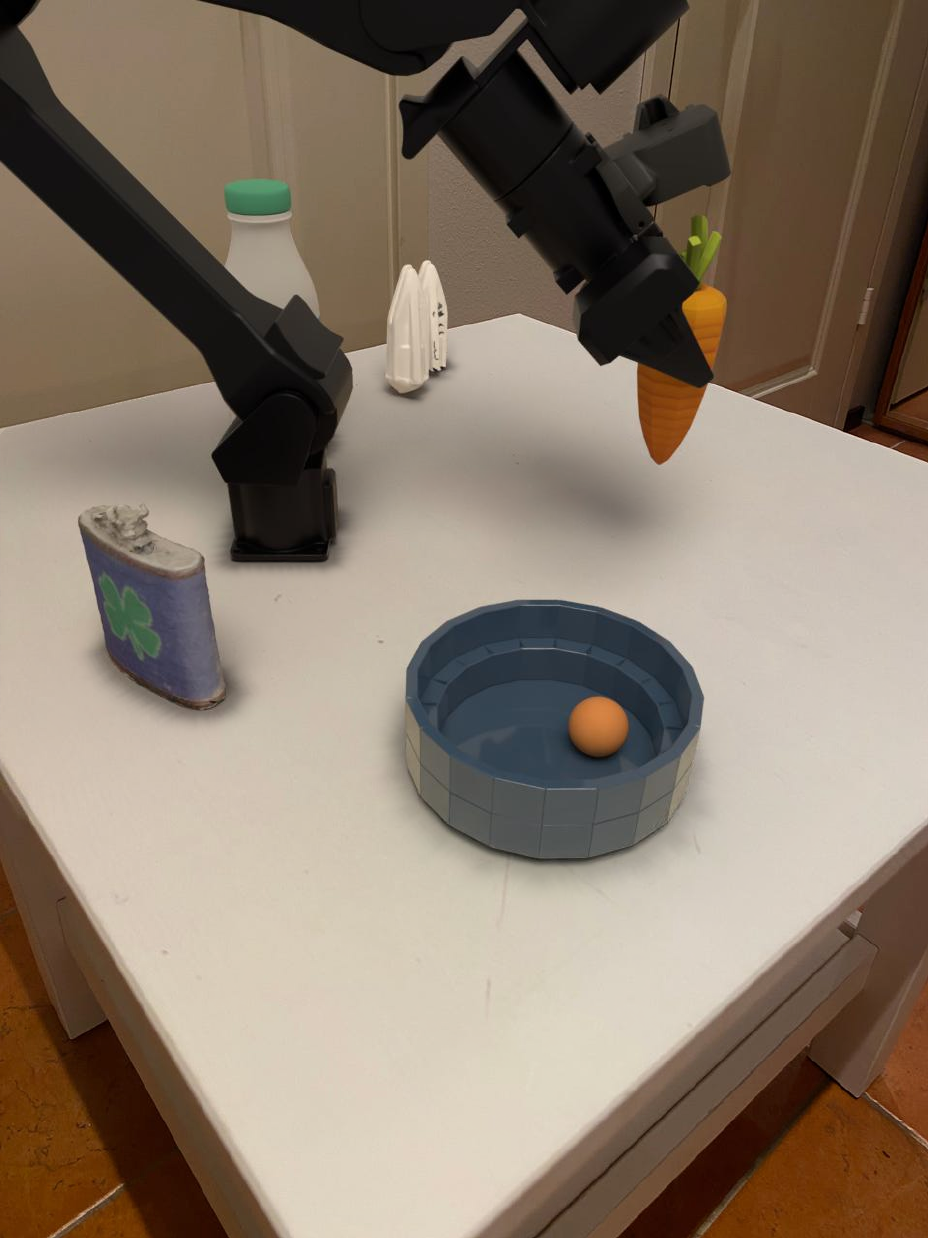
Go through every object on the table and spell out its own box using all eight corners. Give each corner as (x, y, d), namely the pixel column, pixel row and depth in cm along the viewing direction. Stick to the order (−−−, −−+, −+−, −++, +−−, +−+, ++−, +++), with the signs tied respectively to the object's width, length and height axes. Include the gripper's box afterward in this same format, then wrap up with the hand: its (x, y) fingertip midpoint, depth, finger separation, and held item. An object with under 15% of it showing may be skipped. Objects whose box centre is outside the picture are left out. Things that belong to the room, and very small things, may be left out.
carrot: (670, 489, 58) (716, 234, 49) (605, 463, 61) (638, 217, 52) (711, 464, 61) (762, 221, 52) (648, 440, 64) (685, 205, 55)
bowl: (404, 869, 42) (402, 790, 39) (409, 671, 53) (408, 599, 50) (717, 865, 42) (738, 787, 39) (654, 670, 54) (667, 598, 51)
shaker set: (421, 405, 85) (421, 280, 78) (377, 400, 85) (373, 276, 79) (452, 360, 94) (454, 245, 88) (412, 356, 95) (411, 242, 89)
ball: (569, 769, 46) (575, 724, 45) (562, 728, 49) (567, 684, 47) (629, 769, 46) (637, 724, 45) (619, 728, 49) (626, 684, 47)
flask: (236, 694, 51) (208, 524, 45) (193, 722, 49) (158, 549, 43) (135, 630, 56) (97, 468, 50) (91, 653, 54) (47, 488, 48)
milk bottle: (314, 470, 74) (292, 197, 62) (220, 461, 75) (182, 191, 63) (340, 430, 80) (324, 176, 68) (253, 423, 81) (224, 170, 69)
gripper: (688, 58, 40) (871, 327, 46) (627, 29, 55) (771, 234, 61) (493, 246, 44) (685, 466, 51) (487, 171, 59) (635, 348, 66)
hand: (698, 366), depth 57 cm, fingers closed on carrot, 5 cm apart
